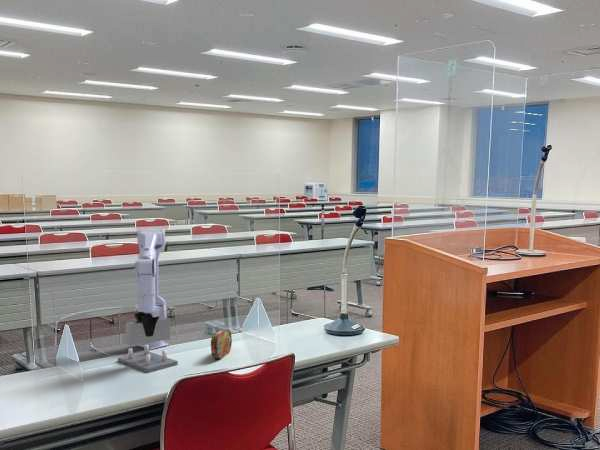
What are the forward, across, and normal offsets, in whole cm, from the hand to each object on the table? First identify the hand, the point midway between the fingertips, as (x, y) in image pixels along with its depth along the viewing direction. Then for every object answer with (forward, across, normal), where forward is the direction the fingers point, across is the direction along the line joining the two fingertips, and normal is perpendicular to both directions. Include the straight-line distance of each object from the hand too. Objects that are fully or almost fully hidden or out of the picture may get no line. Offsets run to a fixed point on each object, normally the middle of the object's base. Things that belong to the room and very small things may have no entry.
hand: (147, 335), depth 178 cm
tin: (+10, -9, -23) cm, 27 cm away
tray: (+9, 0, 0) cm, 9 cm away
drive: (+2, 0, 0) cm, 2 cm away
